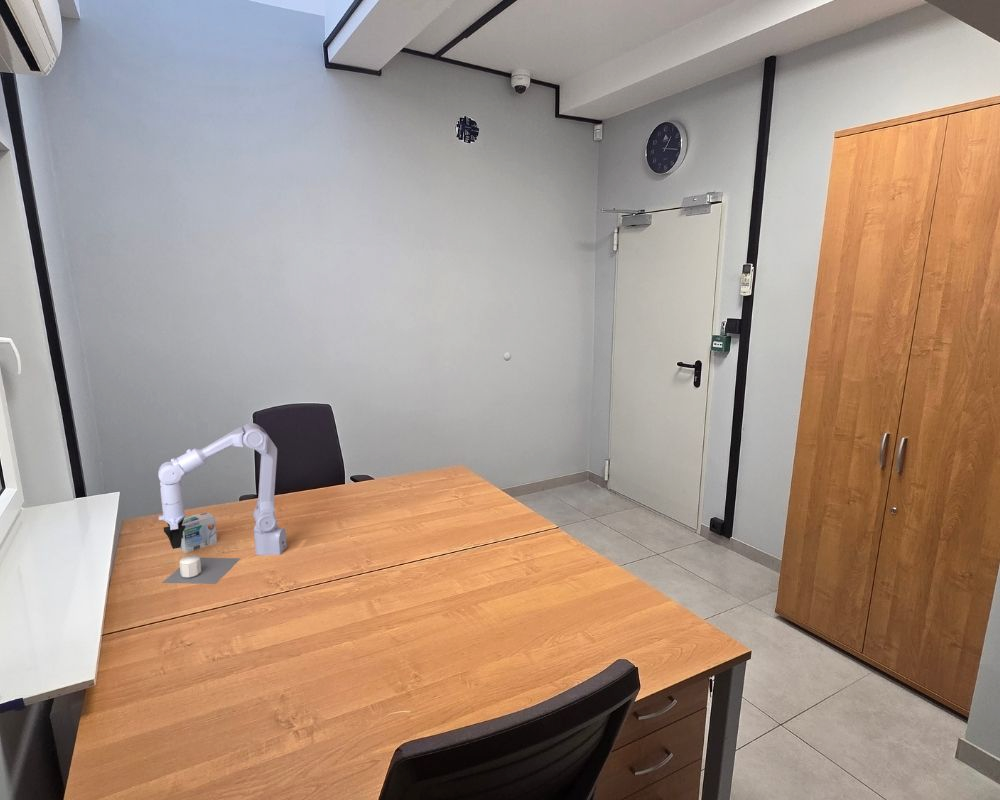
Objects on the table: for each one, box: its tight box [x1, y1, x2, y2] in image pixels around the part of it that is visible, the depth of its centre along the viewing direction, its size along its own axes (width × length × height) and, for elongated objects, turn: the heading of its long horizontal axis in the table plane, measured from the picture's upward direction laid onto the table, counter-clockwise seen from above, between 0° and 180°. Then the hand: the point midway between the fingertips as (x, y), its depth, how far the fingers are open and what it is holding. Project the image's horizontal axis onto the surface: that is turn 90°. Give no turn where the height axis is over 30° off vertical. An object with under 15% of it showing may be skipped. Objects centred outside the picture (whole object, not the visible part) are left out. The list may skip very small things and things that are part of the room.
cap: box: [179, 554, 201, 577], centre depth 168 cm, size 5×5×4 cm
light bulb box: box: [178, 511, 218, 554], centre depth 187 cm, size 11×7×11 cm, turn 143°
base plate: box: [161, 557, 242, 585], centre depth 171 cm, size 16×16×1 cm
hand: (176, 542), depth 170 cm, fingers open, 7 cm apart
